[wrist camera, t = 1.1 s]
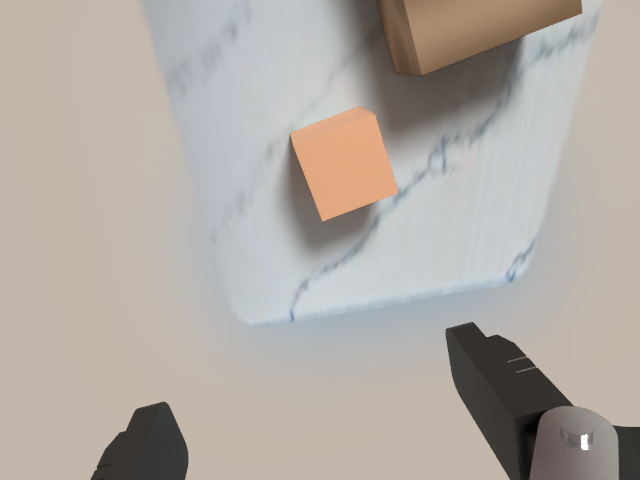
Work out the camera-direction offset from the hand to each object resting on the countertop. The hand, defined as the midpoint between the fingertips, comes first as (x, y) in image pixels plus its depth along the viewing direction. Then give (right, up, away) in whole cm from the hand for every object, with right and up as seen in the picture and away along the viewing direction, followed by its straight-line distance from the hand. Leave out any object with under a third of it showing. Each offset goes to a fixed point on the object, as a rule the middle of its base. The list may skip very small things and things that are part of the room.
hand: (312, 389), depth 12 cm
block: (+1, +11, +21) cm, 24 cm away
